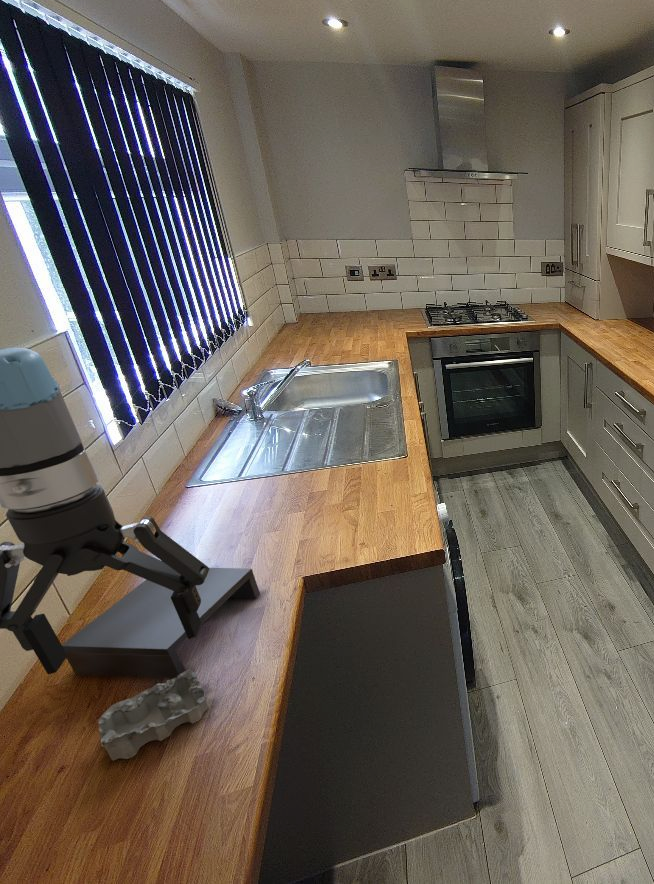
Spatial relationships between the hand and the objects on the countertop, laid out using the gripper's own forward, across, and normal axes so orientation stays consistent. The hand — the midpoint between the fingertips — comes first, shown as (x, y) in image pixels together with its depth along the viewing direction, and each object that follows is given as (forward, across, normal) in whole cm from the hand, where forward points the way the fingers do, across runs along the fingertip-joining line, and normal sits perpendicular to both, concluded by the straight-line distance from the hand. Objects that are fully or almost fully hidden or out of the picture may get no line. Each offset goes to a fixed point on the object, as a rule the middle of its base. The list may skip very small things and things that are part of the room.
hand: (129, 647), depth 64 cm
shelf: (+13, -4, +19) cm, 24 cm away
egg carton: (+13, -1, 0) cm, 13 cm away
